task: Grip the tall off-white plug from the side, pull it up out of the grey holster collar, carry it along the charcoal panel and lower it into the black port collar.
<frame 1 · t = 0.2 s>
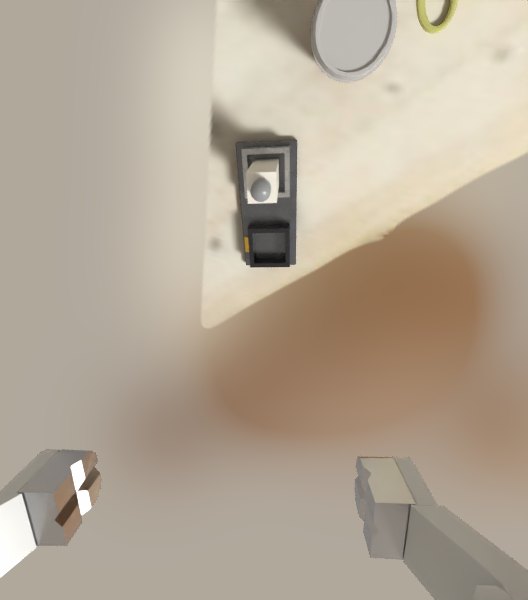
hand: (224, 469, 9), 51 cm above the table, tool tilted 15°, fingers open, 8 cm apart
plug: (267, 171, 52), point 1 cm above the table, touching panel
panel: (268, 208, 56), on the table
disposable coffee cup: (339, 47, 43), on the table
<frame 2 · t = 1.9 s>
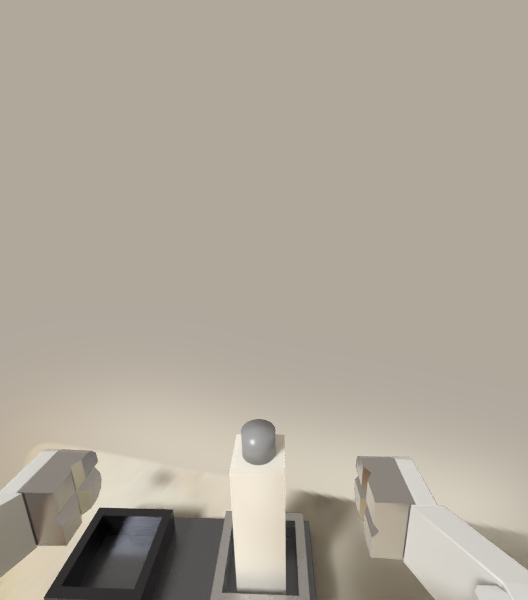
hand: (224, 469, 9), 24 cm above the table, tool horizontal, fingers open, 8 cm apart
plug: (262, 574, 27), point 1 cm above the table, touching panel
panel: (191, 579, 28), on the table
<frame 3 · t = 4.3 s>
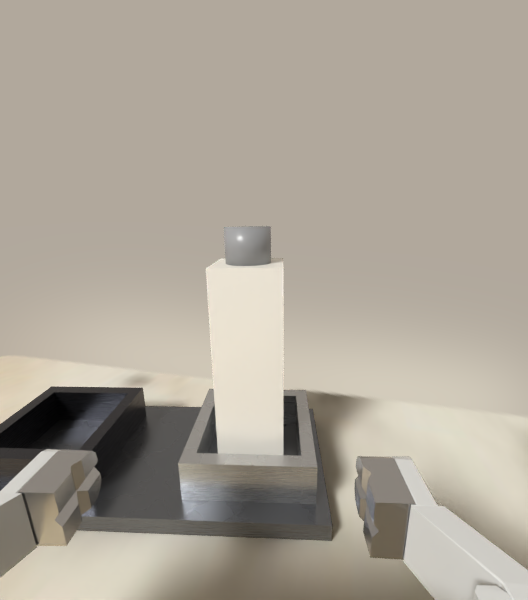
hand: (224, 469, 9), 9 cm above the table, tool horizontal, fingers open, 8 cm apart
plug: (253, 452, 21), point 1 cm above the table, touching panel
panel: (162, 461, 21), on the table
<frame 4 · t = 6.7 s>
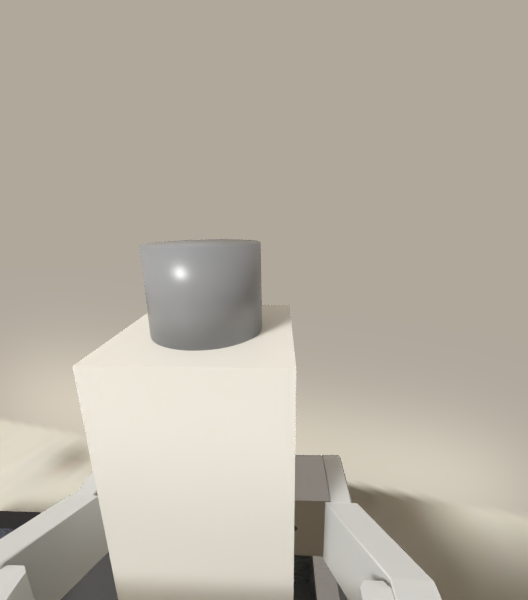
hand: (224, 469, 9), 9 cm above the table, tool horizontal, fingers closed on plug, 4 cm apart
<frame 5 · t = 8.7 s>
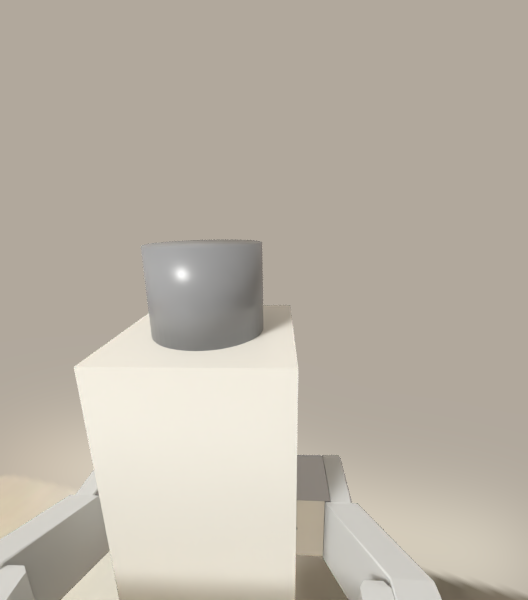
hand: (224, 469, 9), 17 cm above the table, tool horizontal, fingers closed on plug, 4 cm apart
when the fingers open (10 cm above the table, at t = 10.8 s): plug drops 1 cm, resting on panel.
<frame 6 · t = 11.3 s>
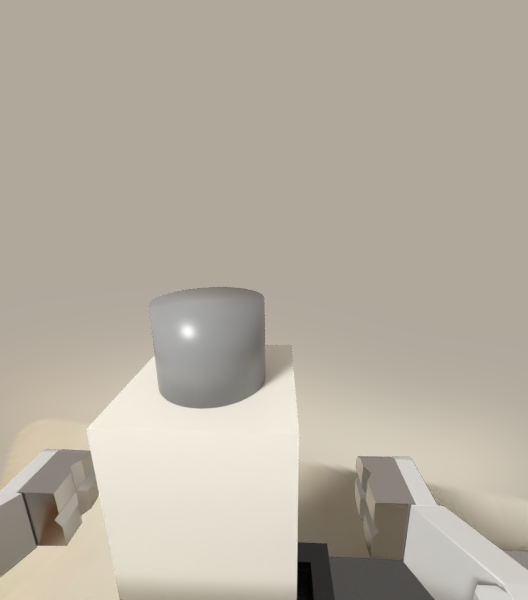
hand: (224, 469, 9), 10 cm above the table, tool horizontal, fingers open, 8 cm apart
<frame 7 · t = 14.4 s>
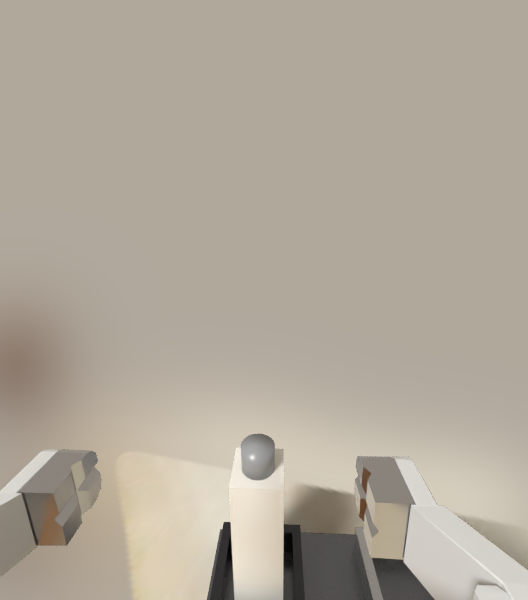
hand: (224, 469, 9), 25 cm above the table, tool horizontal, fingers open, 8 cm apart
plug: (260, 586, 27), point 1 cm above the table, touching panel
panel: (332, 597, 27), on the table
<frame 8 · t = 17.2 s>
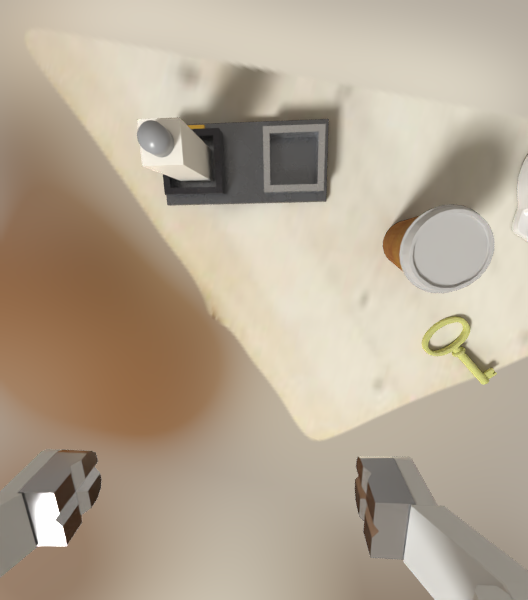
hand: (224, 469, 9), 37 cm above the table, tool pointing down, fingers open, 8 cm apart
plug: (197, 165, 41), point 1 cm above the table, touching panel
key: (454, 347, 48), on the table
panel: (245, 165, 42), on the table
disposable coffee cup: (404, 242, 43), on the table
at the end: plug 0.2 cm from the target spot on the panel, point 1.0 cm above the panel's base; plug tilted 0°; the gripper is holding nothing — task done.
